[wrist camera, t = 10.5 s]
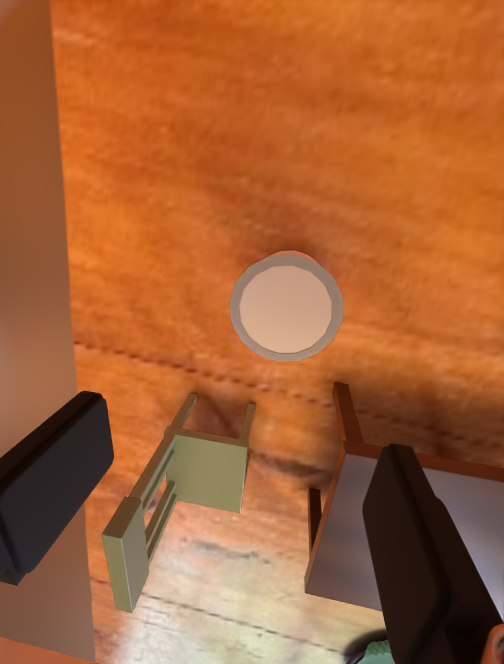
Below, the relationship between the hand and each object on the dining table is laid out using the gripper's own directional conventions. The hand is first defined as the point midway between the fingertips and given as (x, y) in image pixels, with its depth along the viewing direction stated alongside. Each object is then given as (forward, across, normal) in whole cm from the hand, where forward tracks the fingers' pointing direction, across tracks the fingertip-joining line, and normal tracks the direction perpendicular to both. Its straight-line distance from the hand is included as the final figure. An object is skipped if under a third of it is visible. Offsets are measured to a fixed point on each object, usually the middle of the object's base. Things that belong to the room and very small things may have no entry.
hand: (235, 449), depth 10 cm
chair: (+16, +4, +14) cm, 22 cm away
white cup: (+16, -1, -2) cm, 17 cm away
